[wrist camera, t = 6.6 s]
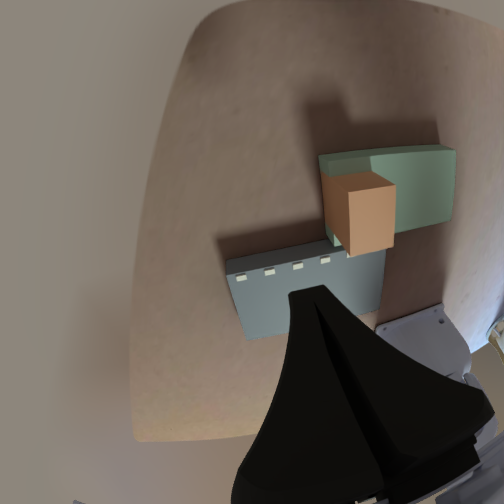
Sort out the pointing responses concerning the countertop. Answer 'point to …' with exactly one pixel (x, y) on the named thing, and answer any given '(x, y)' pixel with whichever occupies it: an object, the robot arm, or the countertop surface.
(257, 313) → the white-dotted slate slab
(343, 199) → the pale green flat slab
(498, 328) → the beer glass
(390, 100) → the countertop surface
